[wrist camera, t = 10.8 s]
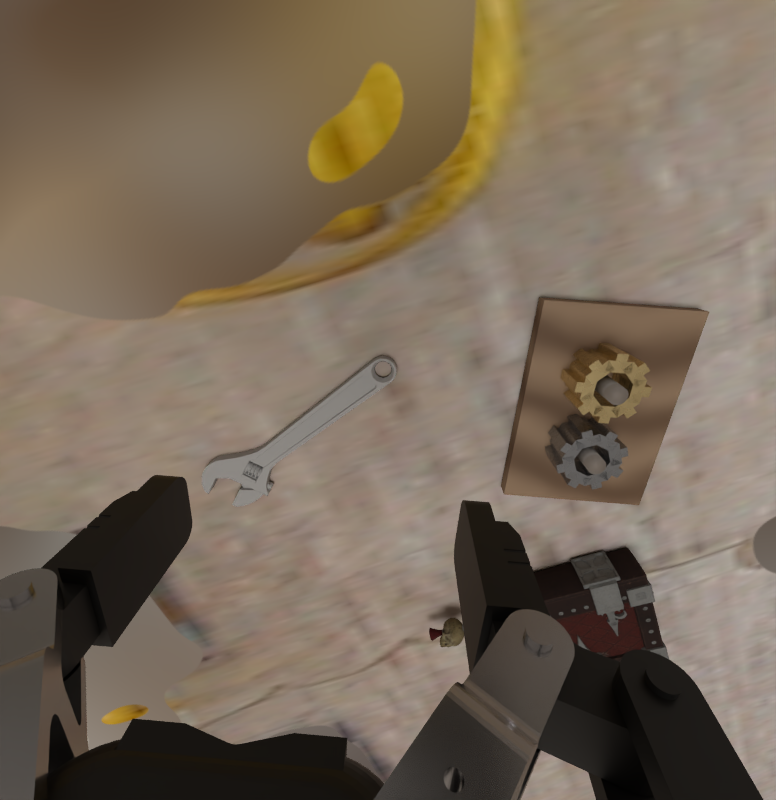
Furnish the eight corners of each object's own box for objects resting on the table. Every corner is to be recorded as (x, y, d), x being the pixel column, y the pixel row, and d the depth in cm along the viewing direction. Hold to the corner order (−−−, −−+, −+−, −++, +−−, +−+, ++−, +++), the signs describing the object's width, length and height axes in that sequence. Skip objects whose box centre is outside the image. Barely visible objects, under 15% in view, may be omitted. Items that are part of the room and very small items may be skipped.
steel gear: (539, 423, 39) (550, 440, 36) (605, 405, 38) (623, 421, 35) (550, 475, 42) (563, 496, 38) (614, 460, 41) (631, 480, 37)
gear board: (539, 297, 36) (562, 309, 31) (697, 308, 36) (750, 322, 31) (501, 486, 44) (514, 522, 39) (631, 496, 44) (664, 534, 38)
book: (647, 626, 52) (671, 666, 47) (458, 670, 56) (463, 710, 51) (625, 539, 47) (649, 574, 42) (420, 595, 51) (421, 632, 47)
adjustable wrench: (386, 347, 39) (385, 352, 38) (421, 399, 41) (422, 406, 40) (199, 467, 45) (191, 476, 44) (237, 507, 47) (231, 517, 46)
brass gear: (569, 340, 36) (584, 351, 33) (639, 345, 36) (662, 356, 33) (554, 404, 39) (567, 420, 35) (620, 409, 39) (639, 425, 35)
